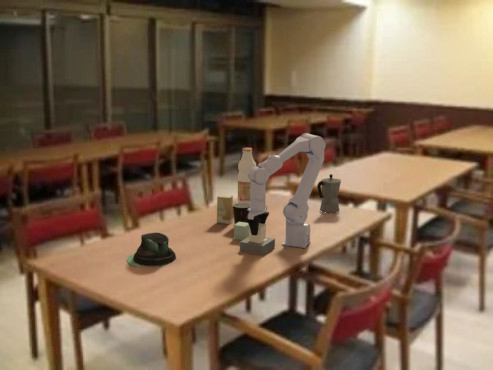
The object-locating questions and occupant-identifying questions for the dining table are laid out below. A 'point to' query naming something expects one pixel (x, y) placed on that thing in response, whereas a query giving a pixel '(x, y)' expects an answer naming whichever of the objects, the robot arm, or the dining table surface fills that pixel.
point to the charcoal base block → (257, 246)
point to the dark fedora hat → (152, 251)
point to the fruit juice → (245, 175)
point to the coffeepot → (329, 194)
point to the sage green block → (241, 230)
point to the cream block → (260, 235)
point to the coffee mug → (240, 212)
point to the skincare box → (224, 209)
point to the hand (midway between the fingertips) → (257, 232)
